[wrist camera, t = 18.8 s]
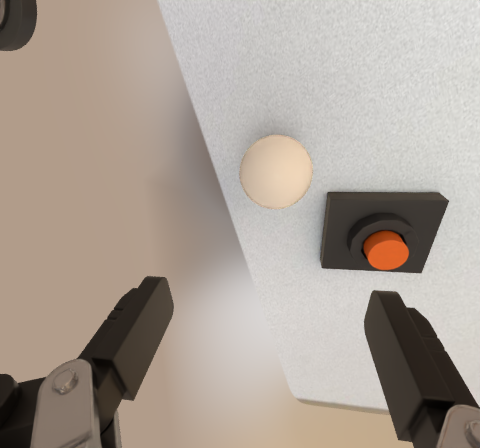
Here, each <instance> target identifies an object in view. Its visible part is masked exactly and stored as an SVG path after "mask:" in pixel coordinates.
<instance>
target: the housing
mask: <svg viewBox="0 0 480 448" xmlns="http://www.w3.org/2000/svg"><path fill="white" fill-rule="evenodd" d="M448 202H449V200H447V199H446V198H445V197H444V196H442V195H441V194H440V193H395V192H328V195H327V204H326V212H325V221H324V229H323V237H322V246H321V254H320V261H321V266H322V268H326V269H346V270H366V271H386V272H406V273H422V270H423V268H424V265H425V262H426V260H427V257H428V255H429V252H430V249H431V247H432V244H433V242H434V239H435V236H436V234H437V231H438V228H439V226H440V223H441V221H442V218H443V215H444V213H445V210H446V207H447V205H448ZM378 231H392V232H395V233H396V234H398V235H399V236H400V237H401V239H402V240H403V242H404V243H405V245H406V246H407V248H408V250H409V255H408V258H407V260H406V261H405V262H404V263H403V264H402V265H401V266H399V267H397V268H395V269H391V270H380V269H377V268H375V267H373V266H372V265H371V264H370V263H369V261H368V259H367V256H366V254H365V252H364V249H363V246H364V242H365V240H366V239H367V238H368V237H369V236H370V235H372V234H373V233H375V232H378Z"/></svg>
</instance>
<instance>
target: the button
mask: <svg viewBox="0 0 480 448" xmlns="http://www.w3.org/2000/svg"><path fill="white" fill-rule="evenodd" d="M363 249H364V252H365V254H366V256H367V259H368V261H369V263H370V264H371V265H372V266H373V267H375V268H377V269H380V270H391V269H395V268H397V267H399V266H401V265H402V264H403V263H404V262H405V261H406V260H407V258H408V255H409V250H408V248H407V246H406V245H405V243H404V242H403V240H402V239H401V237H400V236H399V235H398V234H396V233H395V232H392V231H378V232H375V233H373V234H372V235H370V236H369V237H368V238H367V239H366V240H365V242H364V246H363Z"/></svg>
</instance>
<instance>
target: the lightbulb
mask: <svg viewBox="0 0 480 448" xmlns="http://www.w3.org/2000/svg"><path fill="white" fill-rule="evenodd" d="M239 176H240V182H241V185H242V188H243V190H244V192H245V193H246V195H247V196H248V197H249V198H250V199H251V200H252V201H253V202H254V203H256V204H257V205H259V206H261V207H264V208H268V209H282V208H286V207H289V206H291V205H293V204H295V203H297V202H298V201H299V200H300V199H301V198H302V197H303V196H304V195H305V194H306V192H307V191H308V189H309V187H310V185H311V182H312V177H313V165H312V160H311V157H310V155H309V153H308V151H307V150H306V149H305V147H304V146H303V145H302V144H301V143H299V142H298V141H297V140H295V139H293V138H291V137H288V136H284V135H270V136H266V137H263V138H261V139H259V140H257V141H256V142H255V143H253V144H252V145H251V146H250V147H249V148H248V149H247V151H246V152H245V154H244V156H243V158H242V161H241V164H240V171H239Z"/></svg>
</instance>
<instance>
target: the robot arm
mask: <svg viewBox="0 0 480 448" xmlns="http://www.w3.org/2000/svg"><path fill="white" fill-rule="evenodd" d="M9 8H10V2H9V0H0V31H1V30H2V29H3V28H4V26H5V25H6V22H7V20H8V16H9ZM173 309H174V305H173V300H172V296H171V292H170V288H169V285H168V281H167V279H166V278H165V277H153V276H147V277H145V278H144V280H143V281H142V283H141V284H140V286H139V287H138V288H133V289H132V290H130V291H129V292H128V293H127V294H125V295H124V296H123V297H122V298H121V299H120V300H119V302H118V303H117V305H116V306H115V307H114V310H112V311H111V313H110V314H109V316H108V318H107V320H105V321H104V322H103V324H102V325H101V327H100V328H99V329H98V331H97V332H96V334H95V335H94V336H93V338H92V339H91V340H90V342H89V343H88V344H87V346H86V347H85V349H84V350H83V351H82V353H81V354H80V356H79V357H78V358H77V359H75V360H71V361H68V362H66V363H64V364H62V365H60V366H59V367H57V368H56V369H55V370H53V371H52V372H51V373H50V374H49V375H48V376H47V377H44V378H39V379H34V380H30V381H25V382H21V383H17V382H16V381H15V380H14V379H13V378H12V377H11V376H10V375H8V374H0V448H122V445H121V436H120V427H119V419H118V412H117V408H118V406H119V404H120V402H121V400H122V399H125V400H132V401H133V400H134V399H135V396H136V394H137V392H138V390H139V388H140V385H141V383H142V381H143V379H144V377H145V375H146V372H147V370H148V368H149V366H150V364H151V362H152V359H153V357H154V355H155V353H156V351H157V349H158V346H159V344H160V342H161V340H162V338H163V336H164V333H165V331H166V329H167V327H168V325H169V322H170V320H171V318H172V315H173ZM364 329H365V335H366V338H367V342H368V345H369V348H370V351H371V354H372V358H373V361H374V364H375V367H376V370H377V373H378V377H379V380H380V383H381V386H382V389H383V393H384V396H385V399H386V402H387V405H388V409H389V412H390V415H391V418H392V421H393V425H394V428H395V431H396V434H397V437H398V440H402V441H409V442H412V443H413V446H414V448H480V407H479V406H478V404H477V403H476V401H475V399H474V398H473V396H472V394H471V393H470V391H469V389H468V387H467V386H466V384H465V382H464V381H463V379H462V377H461V375H460V374H459V372H458V370H457V369H456V367H455V365H454V364H453V362H452V360H451V358H450V357H449V355H448V353H447V352H446V351H445V350H444V347H443V345H442V343H441V341H440V340H439V339H438V338H437V335H436V333H435V331H434V329H433V328H432V326H431V324H430V323H429V321H428V320H427V319H426V318H425V317H424V316H423V315H422V314H421V313H419V312H418V311H417V310H416V309H415V308H407V307H406V306H405V304H404V302H403V300H402V298H401V297H400V295H399V294H398V293H397V292H393V291H376V290H374V291H372V293H371V297H370V300H369V304H368V308H367V311H366V315H365V319H364Z"/></svg>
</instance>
